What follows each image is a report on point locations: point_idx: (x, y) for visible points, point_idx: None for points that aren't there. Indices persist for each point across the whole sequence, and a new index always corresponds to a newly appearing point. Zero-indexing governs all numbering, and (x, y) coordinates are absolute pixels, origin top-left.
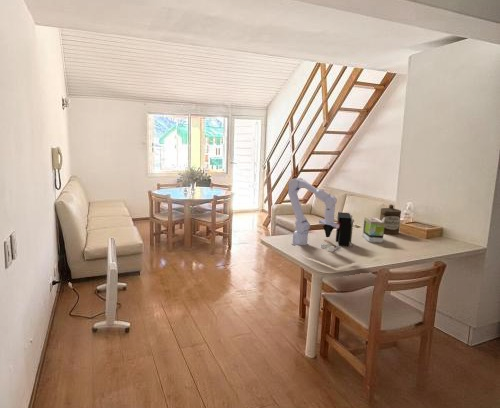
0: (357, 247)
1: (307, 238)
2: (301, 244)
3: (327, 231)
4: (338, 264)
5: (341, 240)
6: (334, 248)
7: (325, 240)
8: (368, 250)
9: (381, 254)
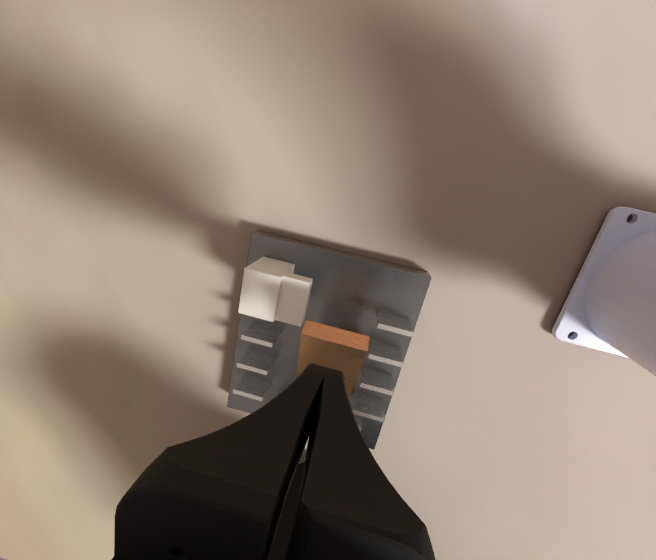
0: None
1: (649, 349)
2: (651, 240)
3: (277, 416)
4: (62, 17)
5: (288, 524)
6: (268, 336)
7: (349, 341)
8: None
9: (60, 487)
